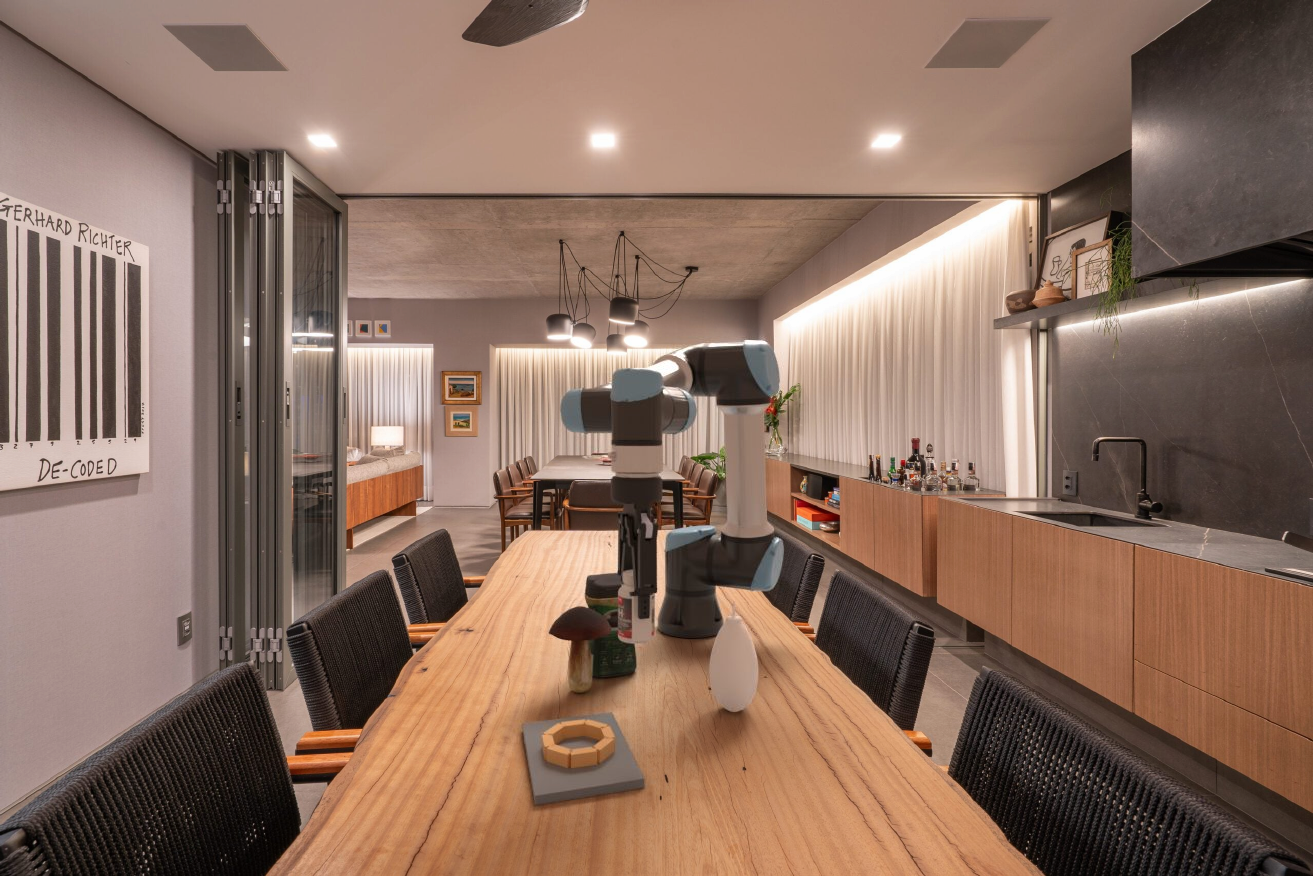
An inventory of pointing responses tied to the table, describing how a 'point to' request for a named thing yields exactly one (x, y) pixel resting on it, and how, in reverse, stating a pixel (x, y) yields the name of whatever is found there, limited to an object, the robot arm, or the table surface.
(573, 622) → the decorative mushroom
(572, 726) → the socket board
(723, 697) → the sauce bottle
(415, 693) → the table surface
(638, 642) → the pill bottle
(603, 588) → the coffee jar
